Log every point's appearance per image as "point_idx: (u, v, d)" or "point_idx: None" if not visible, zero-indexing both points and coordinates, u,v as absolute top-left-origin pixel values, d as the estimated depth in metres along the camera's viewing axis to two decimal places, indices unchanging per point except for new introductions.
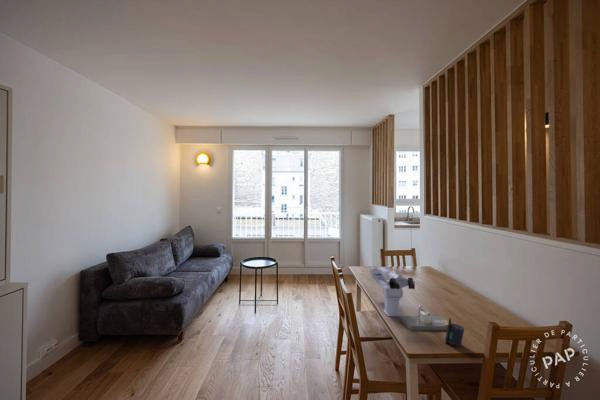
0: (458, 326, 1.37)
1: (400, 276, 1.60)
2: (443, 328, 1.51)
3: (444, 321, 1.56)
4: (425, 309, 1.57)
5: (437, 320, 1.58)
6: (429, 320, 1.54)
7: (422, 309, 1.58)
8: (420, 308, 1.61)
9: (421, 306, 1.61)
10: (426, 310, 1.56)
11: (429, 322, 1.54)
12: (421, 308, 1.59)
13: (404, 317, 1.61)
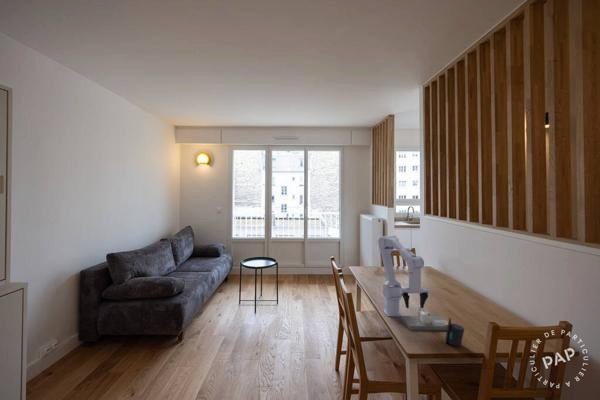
0: (458, 326, 1.37)
1: None
2: (443, 328, 1.51)
3: (444, 321, 1.56)
4: (425, 309, 1.57)
5: (437, 320, 1.58)
6: (429, 320, 1.54)
7: (422, 309, 1.58)
8: (420, 308, 1.61)
9: None
10: (426, 310, 1.56)
11: (429, 322, 1.54)
12: (421, 308, 1.59)
13: (404, 317, 1.61)
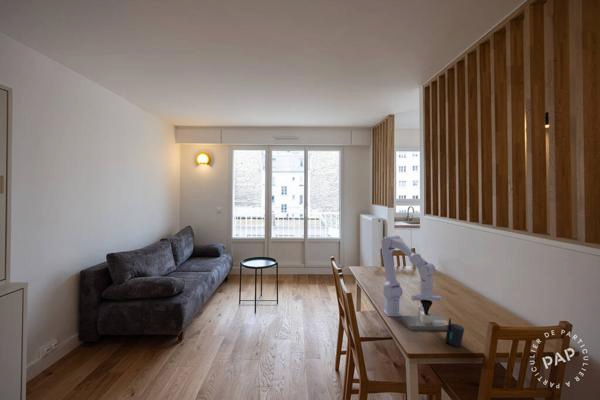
0: (458, 326, 1.37)
1: None
2: (443, 328, 1.51)
3: (444, 321, 1.56)
4: None
5: (437, 320, 1.58)
6: (429, 320, 1.54)
7: (422, 309, 1.58)
8: (420, 308, 1.61)
9: (421, 306, 1.61)
10: None
11: (429, 322, 1.54)
12: (421, 308, 1.59)
13: (404, 317, 1.61)
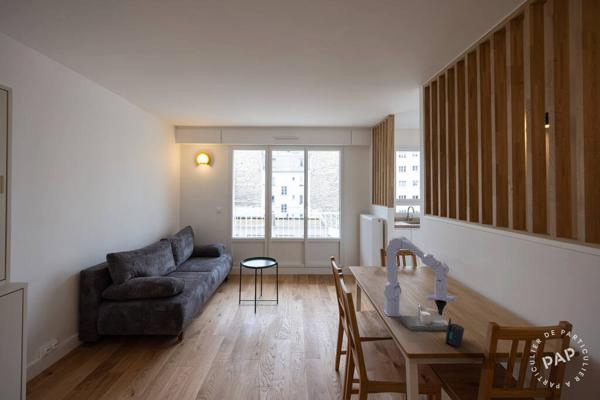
0: (458, 326, 1.37)
1: None
2: (443, 328, 1.51)
3: (444, 321, 1.56)
4: (430, 308, 1.59)
5: (437, 320, 1.58)
6: (429, 320, 1.54)
7: (427, 309, 1.59)
8: (422, 308, 1.61)
9: (422, 306, 1.61)
10: (433, 309, 1.58)
11: (429, 322, 1.54)
12: (425, 308, 1.60)
13: (404, 317, 1.61)
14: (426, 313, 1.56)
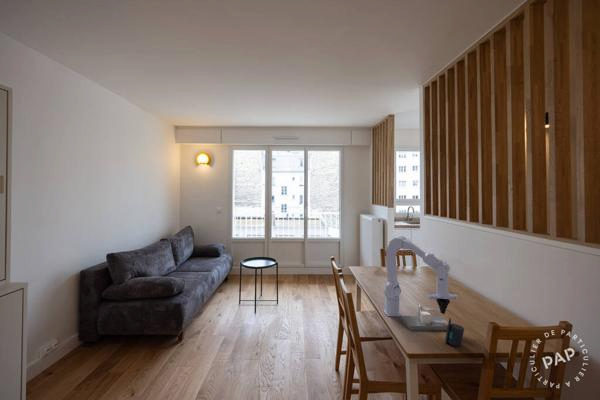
0: (458, 326, 1.37)
1: None
2: (443, 328, 1.51)
3: (444, 321, 1.56)
4: None
5: (437, 320, 1.58)
6: (429, 320, 1.54)
7: (428, 308, 1.59)
8: (423, 308, 1.61)
9: (422, 306, 1.62)
10: (433, 308, 1.59)
11: (429, 322, 1.54)
12: (425, 308, 1.60)
13: (404, 317, 1.61)
14: (426, 313, 1.56)
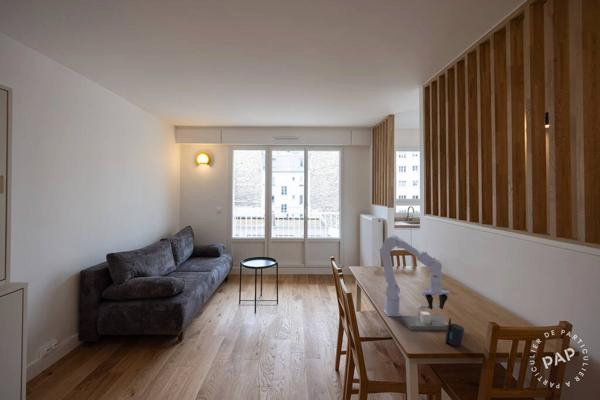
0: (458, 326, 1.37)
1: None
2: (443, 328, 1.51)
3: (444, 321, 1.56)
4: None
5: (437, 320, 1.58)
6: (429, 320, 1.54)
7: (428, 307, 1.62)
8: (423, 307, 1.62)
9: (422, 305, 1.62)
10: None
11: (429, 322, 1.54)
12: (425, 307, 1.62)
13: (404, 317, 1.61)
14: (426, 313, 1.56)
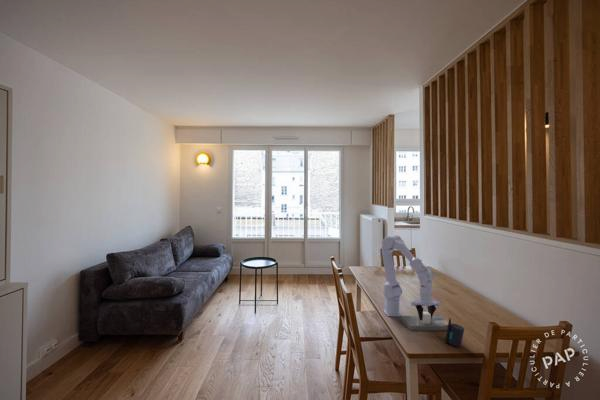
0: (458, 326, 1.37)
1: None
2: (443, 328, 1.51)
3: (444, 321, 1.56)
4: None
5: (437, 320, 1.58)
6: (429, 320, 1.54)
7: None
8: (423, 307, 1.62)
9: None
10: None
11: (429, 322, 1.54)
12: (425, 306, 1.62)
13: (404, 317, 1.61)
14: (426, 313, 1.56)
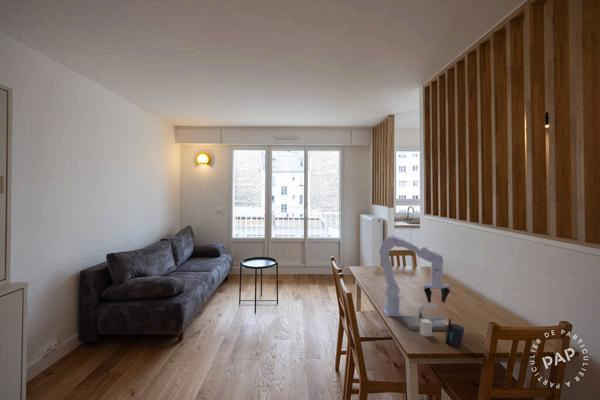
0: (458, 326, 1.37)
1: None
2: (443, 328, 1.51)
3: (444, 321, 1.56)
4: None
5: (437, 320, 1.58)
6: (430, 329, 1.44)
7: (427, 306, 1.63)
8: (423, 307, 1.62)
9: (421, 305, 1.62)
10: (430, 304, 1.64)
11: (430, 331, 1.44)
12: (425, 306, 1.62)
13: (404, 317, 1.61)
14: (427, 321, 1.46)
